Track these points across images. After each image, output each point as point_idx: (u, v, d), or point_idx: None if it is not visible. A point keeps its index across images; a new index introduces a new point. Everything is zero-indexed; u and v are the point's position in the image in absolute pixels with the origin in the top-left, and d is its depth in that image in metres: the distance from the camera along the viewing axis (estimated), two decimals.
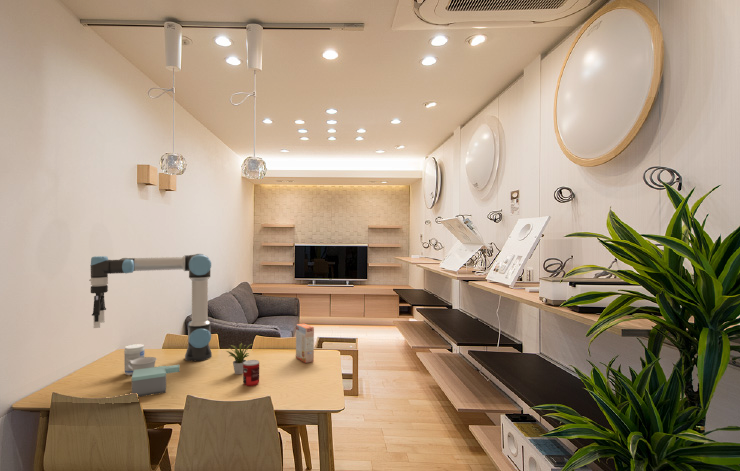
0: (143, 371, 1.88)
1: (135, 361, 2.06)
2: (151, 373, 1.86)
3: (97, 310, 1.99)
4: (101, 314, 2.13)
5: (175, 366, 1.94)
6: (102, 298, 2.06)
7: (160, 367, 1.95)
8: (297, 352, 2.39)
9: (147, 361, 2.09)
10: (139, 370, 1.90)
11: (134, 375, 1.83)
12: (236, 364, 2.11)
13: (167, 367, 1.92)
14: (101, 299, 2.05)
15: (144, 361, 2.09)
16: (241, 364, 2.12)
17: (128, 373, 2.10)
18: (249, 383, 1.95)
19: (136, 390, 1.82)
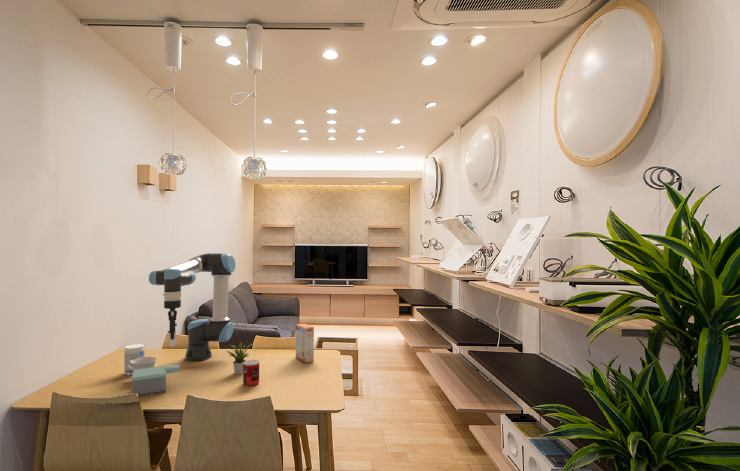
0: (143, 371, 1.88)
1: (135, 361, 2.06)
2: (151, 373, 1.86)
3: (173, 327, 1.85)
4: None
5: (175, 366, 1.94)
6: (176, 314, 1.92)
7: (160, 367, 1.95)
8: (297, 352, 2.39)
9: (147, 361, 2.09)
10: (139, 370, 1.90)
11: (134, 375, 1.83)
12: (236, 364, 2.11)
13: (167, 367, 1.92)
14: (175, 315, 1.92)
15: (144, 361, 2.09)
16: (241, 364, 2.12)
17: (128, 373, 2.10)
18: (249, 383, 1.95)
19: (136, 390, 1.82)
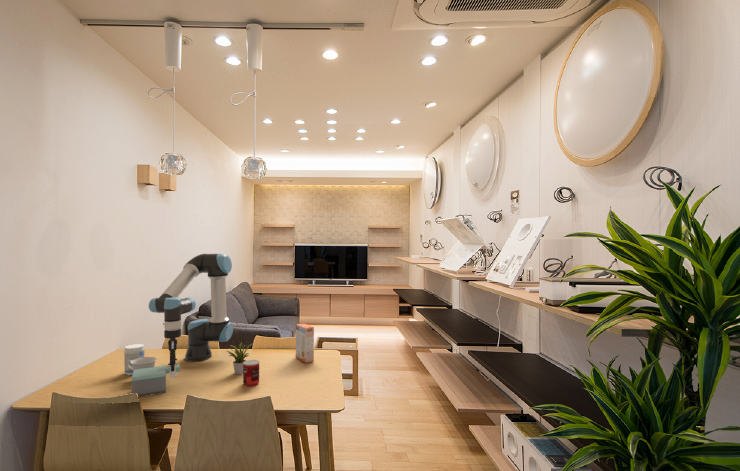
0: (143, 371, 1.88)
1: (135, 361, 2.06)
2: (151, 373, 1.86)
3: (174, 360, 1.89)
4: None
5: None
6: (176, 344, 1.92)
7: (160, 367, 1.95)
8: (297, 352, 2.39)
9: (147, 361, 2.09)
10: (139, 370, 1.90)
11: (134, 375, 1.83)
12: (236, 364, 2.11)
13: (167, 367, 1.92)
14: (175, 345, 1.92)
15: (144, 361, 2.09)
16: (241, 364, 2.12)
17: (128, 373, 2.10)
18: (249, 383, 1.95)
19: (136, 390, 1.82)
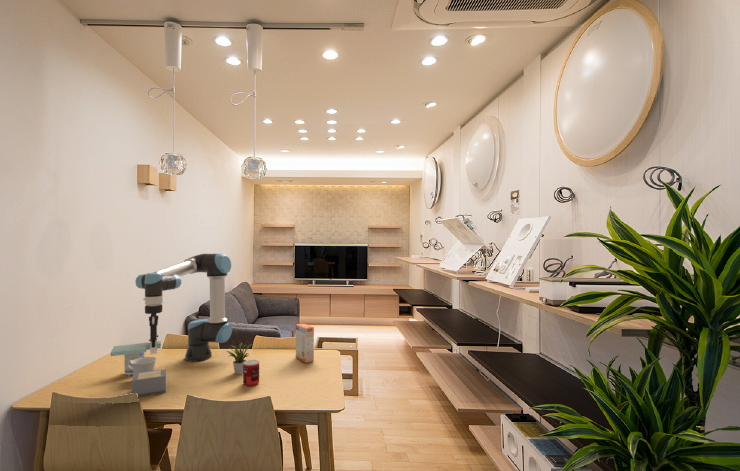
0: (123, 347, 1.84)
1: (135, 361, 2.06)
2: (131, 349, 1.82)
3: (154, 336, 1.85)
4: None
5: None
6: (157, 320, 1.89)
7: (141, 344, 1.91)
8: (297, 352, 2.39)
9: (147, 361, 2.09)
10: (119, 346, 1.86)
11: (113, 350, 1.80)
12: (236, 364, 2.11)
13: (148, 343, 1.88)
14: (156, 321, 1.88)
15: (144, 361, 2.09)
16: (241, 364, 2.12)
17: (128, 373, 2.10)
18: (249, 383, 1.95)
19: (136, 390, 1.82)
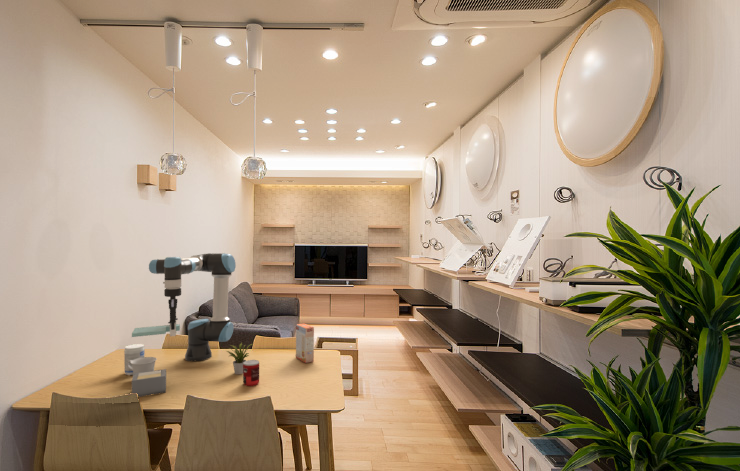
0: (144, 329, 1.89)
1: (135, 361, 2.06)
2: (151, 331, 1.86)
3: (174, 318, 1.89)
4: None
5: None
6: (176, 303, 1.92)
7: (161, 326, 1.95)
8: (297, 352, 2.39)
9: (147, 361, 2.09)
10: (140, 328, 1.91)
11: (134, 332, 1.84)
12: (236, 364, 2.11)
13: (167, 326, 1.92)
14: (175, 304, 1.92)
15: (144, 361, 2.09)
16: (241, 364, 2.12)
17: (128, 373, 2.10)
18: (249, 383, 1.95)
19: (136, 390, 1.82)
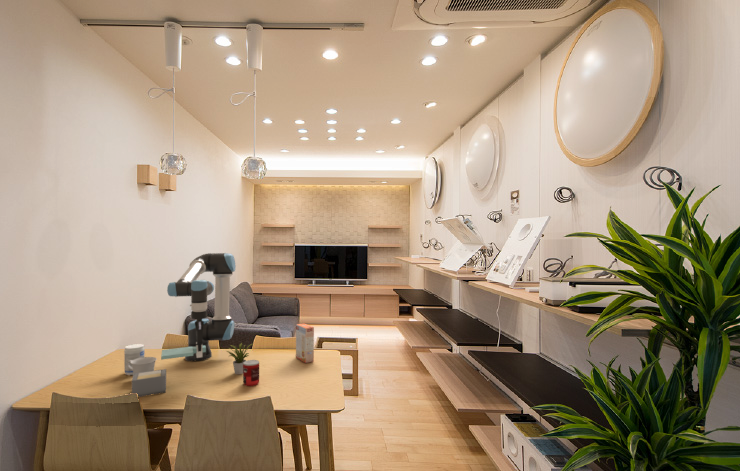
0: (171, 351, 1.94)
1: (135, 361, 2.06)
2: (179, 353, 1.91)
3: (201, 340, 1.94)
4: None
5: None
6: (203, 325, 1.98)
7: (187, 347, 2.00)
8: (297, 352, 2.39)
9: (147, 361, 2.09)
10: (167, 350, 1.96)
11: (163, 354, 1.89)
12: (236, 364, 2.11)
13: (194, 347, 1.98)
14: None
15: (144, 361, 2.09)
16: (241, 364, 2.12)
17: (128, 373, 2.10)
18: (249, 383, 1.95)
19: (136, 390, 1.82)
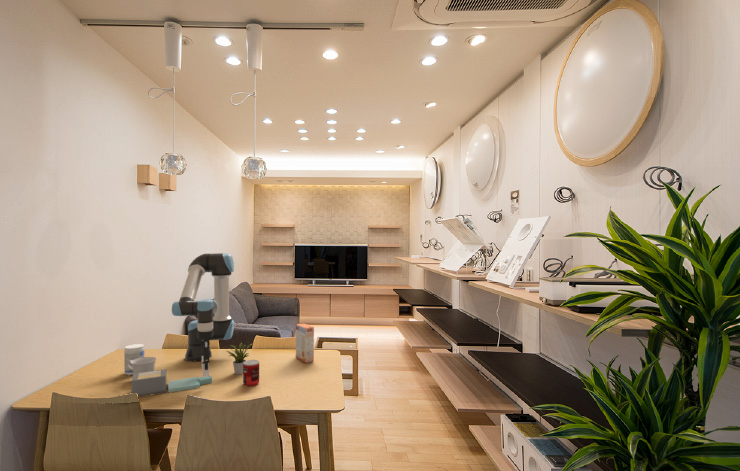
0: (178, 383, 1.95)
1: (135, 361, 2.06)
2: (186, 385, 1.92)
3: (207, 358, 1.92)
4: (204, 359, 2.06)
5: (208, 377, 2.00)
6: (209, 344, 1.99)
7: (193, 378, 2.01)
8: (297, 352, 2.39)
9: (147, 361, 2.09)
10: (173, 382, 1.97)
11: (170, 387, 1.90)
12: (236, 364, 2.11)
13: (200, 378, 1.99)
14: (208, 345, 1.98)
15: (144, 361, 2.09)
16: (241, 364, 2.12)
17: (128, 373, 2.10)
18: (249, 383, 1.95)
19: (136, 390, 1.82)
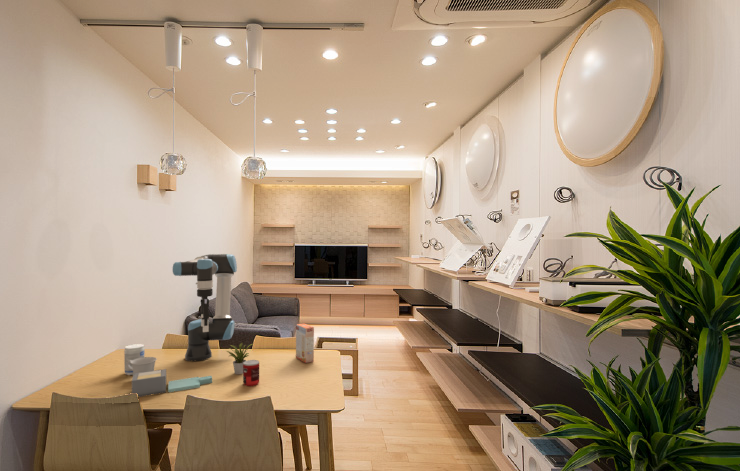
0: (178, 383, 1.95)
1: (135, 361, 2.06)
2: (186, 385, 1.92)
3: (207, 314, 1.96)
4: None
5: (208, 377, 2.00)
6: (208, 302, 2.02)
7: (193, 378, 2.01)
8: (297, 352, 2.39)
9: (147, 361, 2.09)
10: (174, 381, 1.97)
11: (170, 387, 1.90)
12: (236, 364, 2.11)
13: (200, 378, 1.99)
14: (208, 303, 2.02)
15: (144, 361, 2.09)
16: (241, 364, 2.12)
17: (128, 373, 2.10)
18: (249, 383, 1.95)
19: (136, 390, 1.82)
